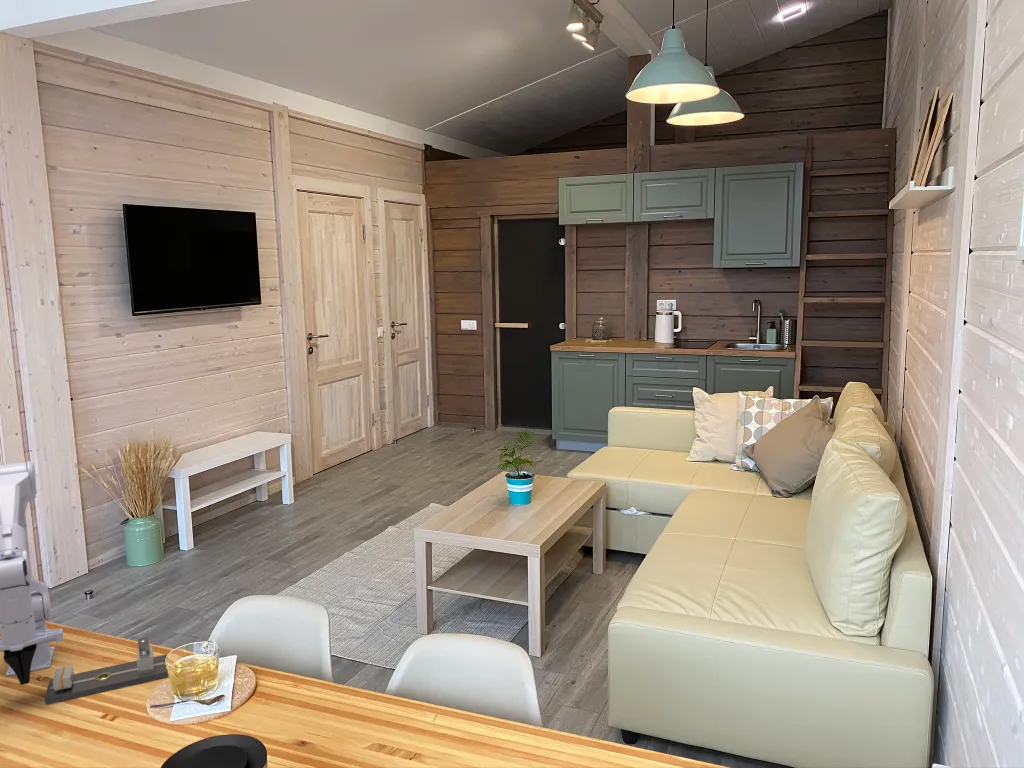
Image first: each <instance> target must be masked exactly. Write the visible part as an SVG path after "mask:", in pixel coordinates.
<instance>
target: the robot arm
mask: <svg viewBox="0 0 1024 768" xmlns="http://www.w3.org/2000/svg"><path fill="white" fill-rule="evenodd" d="M35 469H36V468H35V464H34V462H32V461H31V460H27V461H25V462H15V463H9V464H8V463H7V464H2V465H1V464H0V653H2V652H3V660H4V662H5V663H6V664H7V665H8V668H7V671H6V673H5V675H6V677H10V676H15V675H16V677H17V680H18V682H19V685H20V686H22V685H27V684H30V681H31V672H34V671H40V670H43V669H49V668H50V667H51V665H52V661H53V657H54V653H55V649H56V647H55V646H50V643H54V642H56V643H60V642H63V640H64V632H63V631H64V630H63V628H55V629H48V626H47V623H46V621H49V620H50V619H51V617H52V606H51V597H50V593H49V587H48V585H47V584H46V583H45V582H42V581H41V580H38V579H36V578H33V575H32V565H31V556H30V555H31V554H30V553H31V552H30V546H29V544H30V543H29V535H28V526H27V516H26V511H27V508H28V507H27V506H28V503H29V502H31V501H33V500H35V499H36V498H37V496H36V495H37V479H36V470H35ZM32 592H35V593H32Z"/></svg>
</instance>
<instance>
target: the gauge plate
mask: <svg viewBox="0 0 1024 768" xmlns="http://www.w3.org/2000/svg"><path fill="white" fill-rule="evenodd" d="M149 640H150V639H149V637H142V638H140V639H138V640H137V644H138V648H137V649H136V660H133V661H130V662H125V663H120V664H119V663H118V664H114V665H111V666H105V667H100V668H96V669H93V670H87V671H82V672H78V673H74V677H73V682H72V687H70V688H66V689H63V690H62V689H61V690H56V691H54V686H53V678H50V679H49V681H48V685H47V688H46V689H47V690H46V693H45V697H44V703H45V705H46V706H47V705H51V704H53V703H54V704H55V703H59V702H63V701H68V700H72V699H77V698H82V697H85V696H90V695H94V694H99V693H103V692H104V693H105V692H107V691H112V690H116V689H121V688H126V687H129V686H135V685H139V684H144V683H149V682H152V681H157V680H160V679H166V678H168V677H169V676H167V669H166V665H165V658H166V656H167V657H168V655H167V653H165V654H162V655H158V656H154V646H152V645H151V646H150V641H149Z"/></svg>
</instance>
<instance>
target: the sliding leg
mask: <svg viewBox="0 0 1024 768" xmlns="http://www.w3.org/2000/svg"><path fill="white" fill-rule="evenodd" d="M53 674H54V675H53V678H52V679H53V686H54V691H56V690H61V689H62V690H63V689H66V688H70V687H72V682H73V677H74V674H75V672H74V665H73V664H72V665H69V666H68V665H67V666H62V667H57V668H55V670H54V673H53Z"/></svg>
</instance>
